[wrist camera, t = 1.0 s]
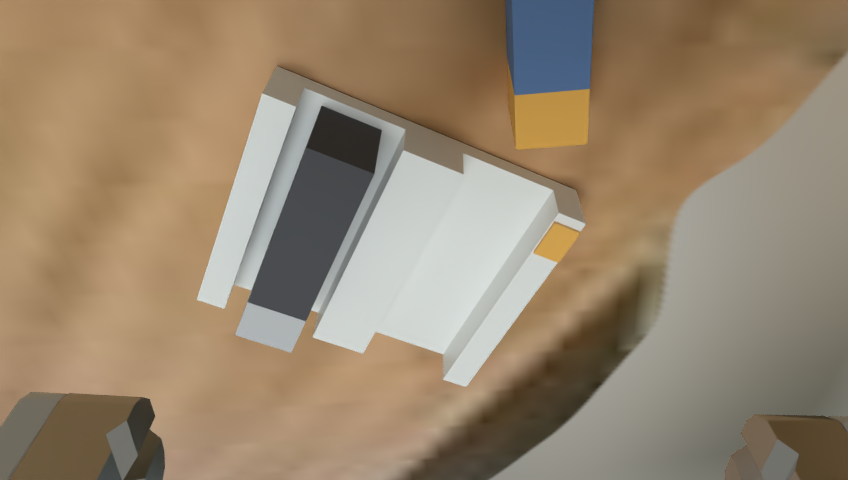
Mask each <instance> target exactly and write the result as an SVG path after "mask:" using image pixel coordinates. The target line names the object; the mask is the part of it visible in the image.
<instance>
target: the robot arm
mask: <svg viewBox="0 0 848 480" xmlns="http://www.w3.org/2000/svg"><path fill="white" fill-rule="evenodd" d="M154 418H155V414H154V411H153V408H152V405H151V402H150V399H147V398H143V397H129V396H110V395H92V394H74V393H69V394H64V393H44V392H31V393H29V394H27V395H26V396H24V397H23V398H21V399H20V400H19V401H18V402H17V404H16V405H15V407H14V408H13V409H12V411H11V412H10V414H9V415H8V417H7V418H6V419H5V421H4V422H3V424H2V425H1V426H0V480H163V475H164V469H165V456H164V448H163V444H162V440H161V438H160V437H158V436H157V435H156V434H155V433H153V432H152V431H151V430H150V427H151V425H152V422H153V420H154ZM741 435H742V437H743V438H744V440H745V442H746V445H745V446H744V447H742V448H741V449H739V450H738V451H736V452H735V453H733V454H732V455H731V457H730V459H729V462H728V465H727V467H726V470H725V480H848V417H843V416H828V417H826V416H816V415H813V416H812V415H811V416H810V415H760V414H759V415H758V414H755V415H753V416H752V417H751V418H749V419H748V420H747V421H746V423H745V426H744V427H743V430H742V432H741Z"/></svg>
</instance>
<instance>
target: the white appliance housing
mask: <svg viewBox="0 0 848 480" xmlns="http://www.w3.org/2000/svg"><path fill="white" fill-rule="evenodd" d="M321 106H324V107H327V108H329V109H331V110H334V111H336V112H339V113H341V114H344V115H346V116H349V117H351V118H354V119H356V120H358V121H361V122H363V123H366V124H368V125H371V126H373V127H376V128H378V129H381V130H382V133H381V138H380V144H379V150H378V156H377V162H376V168H375V173H374V176H373V178H372V180H371V182H370V185H369V187H368V189H367V191H366V193H365V195H364V197H363V200H362V202H361V204H360V206H359V208H358V210H357V212H356V215H355V217H354V219H353V221H352V223H351V225H350V227H349V230H348V232H347V234H346V236H345V238H344V240H343V242H342V245H341V247H340V249H339V251H338V253H337V255H336V257H335V260H334V262H333V264H332V266H331V268H330V270H329V272H328V275H327V277H326V279H325V281H324V283H323V285H322V287H321V290H320V292H319V294H318V296H317V298H316V300H315V302H314V305H313V307H312V309H311V310H312V311H315V312H318V316H317V320H316V324H315V329H314V333H313V338H316V339H319V340H322V341H326V342H329V343H332V344H335V345H338V346H341V347H344V348H347V349H350V350H353V351H356V352H360V353H363V352H364V351H365V349H366V347H367V345H368V344H369V342H370V340H371V338H372V337H373V335H374V333H375V332H378V333H381V334H384V335H387V336H390V337H393V338H396V339H399V340H402V341H405V342H408V343H411V344H414V345H417V346H420V347H423V348H426V349H429V350H432V351H435V352H438V353H441V354H443V380H446V381H449V382H452V383H455V384H458V385H462V386H465V387H466V386H467V385H468V384H469V382H470V381H471V379H472V378H473V377H474V375H475V374H476V373H477V371H478V370H479V369H480V367H481V366H482V365H483V363H484V362H485V360H486V359H487V358H488V356H489V355H490V354H491V352H492V351H493V350H494V348H495V347H496V346H497V344H498V343H499V341H500V340H501V339H502V337H503V336H504V335H505V333H506V332H507V331H508V329H509V328H510V326H511V325H512V324H513V322H514V321H515V320H516V318H517V317H518V316H519V314H520V313H521V312H522V310H523V309H524V307H525V306H526V305H527V303H528V302H529V301H530V299H531V298H532V297H533V295H534V294H535V293H536V291H537V290H538V288H539V287H540V286H541V284H542V283H543V282H544V280H545V279H546V278H547V276H548V275H549V273H550V272H551V271H552V269H553V268H554V267H555V265H556V264H557V263H559V262H560V260H561V259H562V258H563V256H564V255H565V254H566V252H567V251H568V249H569V248H570V247H571V245H572V244H573V243H574V241H575V240H576V239H577V237H578V236H579V235H580V231H581V230H582V229H583V227H584V226H585V225H586V222H585V219H584V215H583V212H582V209H581V205H580V202H579V198H578V195H577V191H576V190H575V189H572V188H570V187H567V186H565V185H562V184H560V183H558V182H555V181H553V180H550V179H548V178H546V177H543V176H541V175H538V174H536V173H534V172H531V171H529V170H526V169H524V168H522V167H519V166H517V165H514V164H512V163H509V162H507V161H505V160H502V159H500V158H497V157H495V156H493V155H490V154H488V153H485V152H483V151H481V150H478V149H476V148H473V147H471V146H469V145H466V144H464V143H461V142H459V141H456V140H454V139H452V138H449V137H447V136H444V135H442V134H440V133H437V132H435V131H432V130H430V129H428V128H425V127H423V126H420V125H418V124H416V123H413V122H411V121H408V120H406V119H403V118H401V117H399V116H396V115H394V114H391V113H389V112H387V111H384V110H382V109H379V108H377V107H375V106H372V105H370V104H367V103H365V102H363V101H360V100H358V99H355V98H353V97H350V96H348V95H346V94H343V93H341V92H338V91H336V90H334V89H331V88H329V87H326V86H324V85H322V84H319V83H317V82H314V81H312V80H310V79H307V78H305V77H302V76H300V75H297V74H295V73H293V72H290V71H288V70H285V69H283V68H281V67H278V66H277V67H276V69H275V71H274V72H273V74H272V76H271V78H270V80H269V82H268V84H267V85H266V87H265V89H264V91H263V93H262V96H261V99H260V102H259V105H258V108H257V112H256V115H255V118H254V121H253V124H252V127H251V131H250V134H249V137H248V140H247V143H246V146H245V149H244V153H243V156H242V159H241V162H240V165H239V168H238V172H237V175H236V178H235V181H234V184H233V187H232V191H231V194H230V197H229V200H228V203H227V206H226V209H225V213H224V216H223V219H222V222H221V225H220V228H219V232H218V235H217V238H216V241H215V244H214V247H213V251H212V254H211V257H210V260H209V263H208V266H207V269H206V273H205V276H204V279H203V282H202V285H201V288H200V292H199V295H198V298H197V300H199V301H202V302H205V303H208V304H211V305H214V306H217V307H221V308H224V309H225V306H226V303H227V301H228V298H229V296H230V293H231V291H232V288H233V286H234V285H237V286H240V287H243V288H246V289H249V290H252V287H253V284H254V282H255V279H256V277H257V274H258V271H259V269H260V266H261V263H262V261H263V258H264V256H265V253H266V250H267V248H268V245H269V242H270V240H271V237H272V235H273V232H274V229H275V227H276V224H277V221H278V219H279V216H280V213H281V211H282V208H283V206H284V203H285V200H286V198H287V195H288V192H289V190H290V187H291V185H292V182H293V179H294V177H295V174H296V171H297V169H298V166H299V164H300V161H301V158H302V156H303V153H304V150H305V148H306V145H307V143H308V140H309V137H310V135H311V132H312V129H313V127H314V124H315V122H316V119H317V116H318V114H319V111H320V108H321Z"/></svg>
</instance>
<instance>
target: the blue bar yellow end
mask: <svg viewBox="0 0 848 480" xmlns="http://www.w3.org/2000/svg"><path fill="white" fill-rule="evenodd" d="M505 2H506V35H507V67H508V100H509V113H510V119H511V124H512V130H513V136H514V142H515V147H516V150H519V149H532V148H545V147H557V146H570V145H583V144H587V138H588V117H589V96H590V76H591V55H592V34H593V13H594V0H505Z"/></svg>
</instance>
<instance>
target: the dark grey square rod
mask: <svg viewBox="0 0 848 480" xmlns="http://www.w3.org/2000/svg"><path fill="white" fill-rule="evenodd" d="M381 133H382V130H381V129H378V128H376V127H373V126H371V125H368V124H366V123H363V122H361V121H358V120H356V119H354V118H351V117H349V116H346V115H344V114H341V113H339V112H336V111H334V110H331V109H329V108H327V107H324V106H321V108H320V111H319V114H318V116H317V119H316V122H315V124H314V127H313V129H312V132H311V135H310V137H309V140H308V143H307V145H306V148H305V150H304V153H303V156H302V158H301V161H300V164H299V166H298V169H297V171H296V174H295V177H294V179H293V182H292V185H291V187H290V190H289V192H288V195H287V198H286V200H285V203H284V206H283V208H282V211H281V213H280V216H279V219H278V221H277V224H276V227H275V229H274V232H273V235H272V237H271V240H270V242H269V245H268V248H267V250H266V253H265V256H264V258H263V261H262V263H261V266H260V269H259V271H258V274H257V277H256V279H255V282H254V284H253V287H252V290H251V293H250V296H249V298H248V301H247V304H246V307H245V309H244V312H243V315H242V318H241V320H240V323H239V326H238V329H237V331H236V334H235V335H237V336H240V337H243V338H246V339H249V340H253V341H256V342H259V343H262V344H265V345H268V346H272V347H275V348H278V349H281V350H284V351H287V352H292V350H293V348H294V345H295V343H296V341H297V339H298V337H299V335H300V333H301V330H302V328H303V326H304V324H305V322H306V320H307V317H308V315H309V313H310V311H311V309H312V307H313V305H314V302H315V300H316V298H317V296H318V294H319V292H320V290H321V287H322V285H323V283H324V281H325V279H326V277H327V275H328V272H329V270H330V268H331V266H332V264H333V262H334V260H335V257H336V255H337V253H338V251H339V249H340V247H341V245H342V242H343V240H344V238H345V236H346V234H347V232H348V230H349V227H350V225H351V223H352V221H353V219H354V217H355V215H356V212H357V210H358V208H359V206H360V204H361V202H362V200H363V197H364V195H365V193H366V191H367V189H368V187H369V185H370V182H371V180H372V178H373V176H374V173H375V168H376V162H377V156H378V150H379V144H380V138H381Z"/></svg>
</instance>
